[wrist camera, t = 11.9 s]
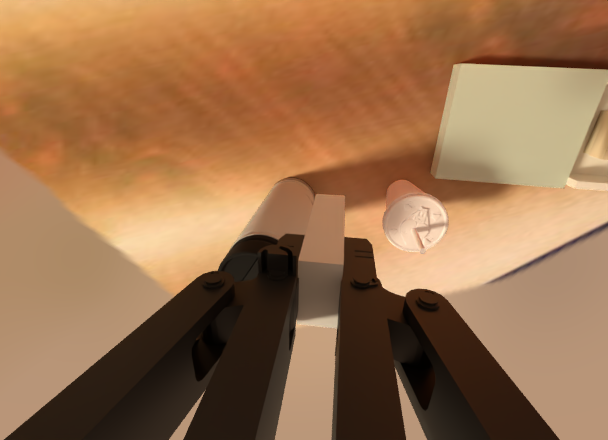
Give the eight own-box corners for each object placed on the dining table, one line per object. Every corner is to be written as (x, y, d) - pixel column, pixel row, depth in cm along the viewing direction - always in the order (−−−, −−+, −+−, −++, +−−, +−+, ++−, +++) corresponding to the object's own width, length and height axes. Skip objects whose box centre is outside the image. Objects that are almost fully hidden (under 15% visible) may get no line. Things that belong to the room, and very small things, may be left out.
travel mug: (326, 192, 41) (308, 279, 23) (299, 228, 44) (266, 331, 26) (286, 166, 41) (236, 235, 23) (262, 204, 43) (200, 294, 25)
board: (453, 64, 34) (461, 63, 31) (594, 70, 32) (612, 69, 30) (430, 172, 39) (435, 178, 36) (550, 181, 37) (563, 188, 35)
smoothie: (368, 207, 42) (377, 264, 29) (386, 162, 39) (405, 202, 26) (414, 222, 42) (443, 284, 29) (436, 178, 39) (478, 225, 26)
